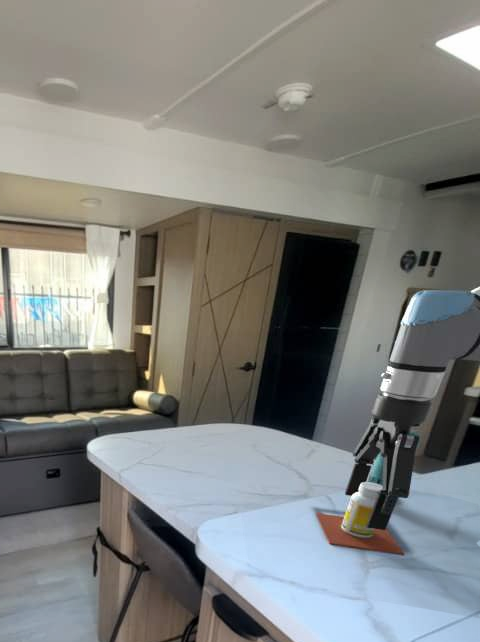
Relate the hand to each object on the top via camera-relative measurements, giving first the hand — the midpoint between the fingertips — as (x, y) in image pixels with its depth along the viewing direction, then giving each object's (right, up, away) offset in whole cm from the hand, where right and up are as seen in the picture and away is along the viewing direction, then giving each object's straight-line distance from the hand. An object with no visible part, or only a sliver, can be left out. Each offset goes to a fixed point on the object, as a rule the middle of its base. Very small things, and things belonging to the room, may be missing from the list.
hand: (363, 510), depth 76 cm
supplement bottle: (0, -4, +2) cm, 5 cm away
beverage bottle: (+13, +1, +15) cm, 20 cm away
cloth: (0, -4, +2) cm, 5 cm away
